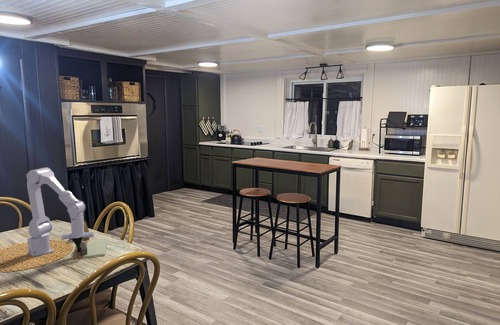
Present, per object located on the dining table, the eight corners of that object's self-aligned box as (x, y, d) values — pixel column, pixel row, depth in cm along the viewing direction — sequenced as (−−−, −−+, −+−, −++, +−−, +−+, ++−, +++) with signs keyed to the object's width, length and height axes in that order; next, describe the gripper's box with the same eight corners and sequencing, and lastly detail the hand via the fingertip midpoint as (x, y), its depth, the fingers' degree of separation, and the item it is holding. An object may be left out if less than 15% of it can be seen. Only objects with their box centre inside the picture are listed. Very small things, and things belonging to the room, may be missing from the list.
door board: (78, 243, 189) (78, 235, 189) (107, 240, 194) (107, 232, 194) (72, 259, 169) (71, 250, 168) (105, 255, 174) (104, 247, 173)
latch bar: (79, 248, 179) (79, 243, 178) (85, 247, 180) (84, 242, 180) (81, 255, 171) (81, 249, 171) (87, 254, 172) (87, 248, 172)
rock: (94, 235, 196) (92, 228, 204) (84, 226, 192) (82, 218, 200) (78, 248, 193) (77, 240, 202) (67, 239, 189) (66, 231, 197)
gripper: (59, 229, 165) (61, 256, 167) (92, 227, 170) (93, 253, 172) (62, 225, 172) (64, 250, 174) (93, 222, 177) (95, 247, 179)
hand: (78, 251), depth 173 cm, fingers closed, pressing on latch bar
